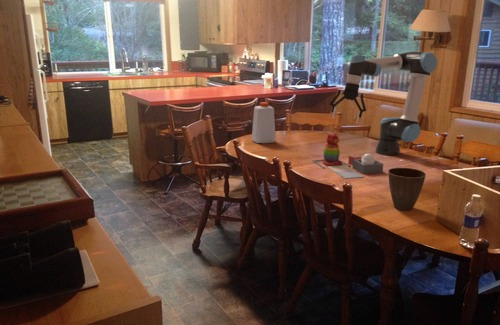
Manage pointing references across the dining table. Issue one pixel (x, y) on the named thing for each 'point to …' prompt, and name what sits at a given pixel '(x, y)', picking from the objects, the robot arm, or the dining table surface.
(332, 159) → the stacking bear
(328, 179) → the dining table surface
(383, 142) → the robot arm
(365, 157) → the dome
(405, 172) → the plant pot
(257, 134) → the plastic bottle
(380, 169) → the popper base
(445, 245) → the dining table surface
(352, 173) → the track
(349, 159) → the die
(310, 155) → the dining table surface
